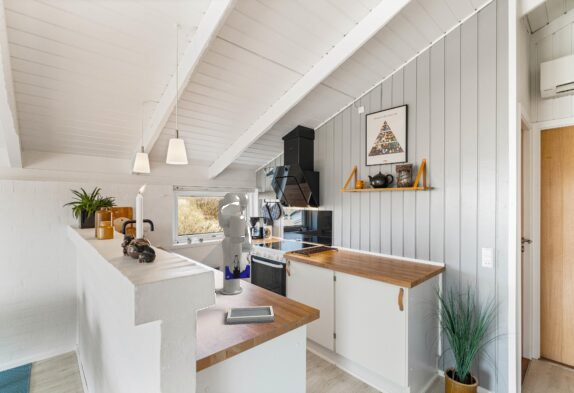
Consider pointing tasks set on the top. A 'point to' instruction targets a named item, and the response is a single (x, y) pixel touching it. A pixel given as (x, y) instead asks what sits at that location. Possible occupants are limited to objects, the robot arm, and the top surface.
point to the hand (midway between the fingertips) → (236, 276)
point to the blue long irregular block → (243, 274)
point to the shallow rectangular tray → (250, 315)
